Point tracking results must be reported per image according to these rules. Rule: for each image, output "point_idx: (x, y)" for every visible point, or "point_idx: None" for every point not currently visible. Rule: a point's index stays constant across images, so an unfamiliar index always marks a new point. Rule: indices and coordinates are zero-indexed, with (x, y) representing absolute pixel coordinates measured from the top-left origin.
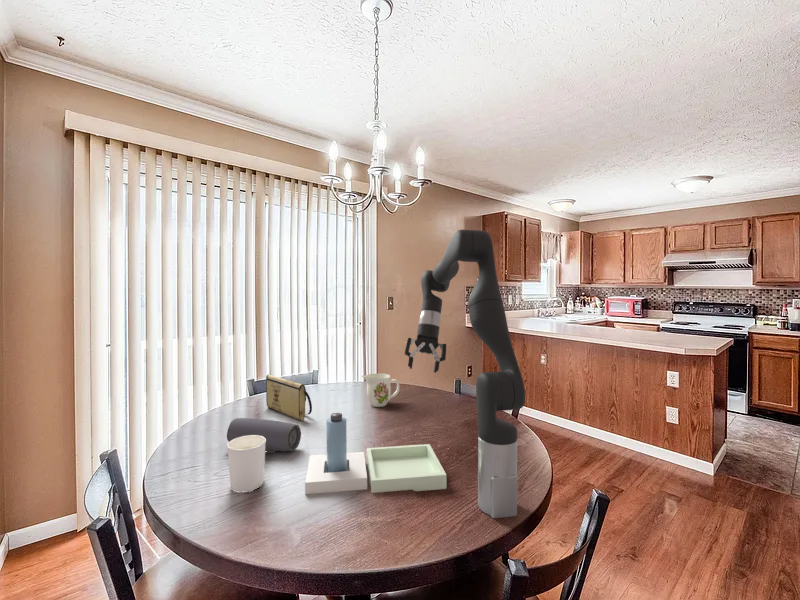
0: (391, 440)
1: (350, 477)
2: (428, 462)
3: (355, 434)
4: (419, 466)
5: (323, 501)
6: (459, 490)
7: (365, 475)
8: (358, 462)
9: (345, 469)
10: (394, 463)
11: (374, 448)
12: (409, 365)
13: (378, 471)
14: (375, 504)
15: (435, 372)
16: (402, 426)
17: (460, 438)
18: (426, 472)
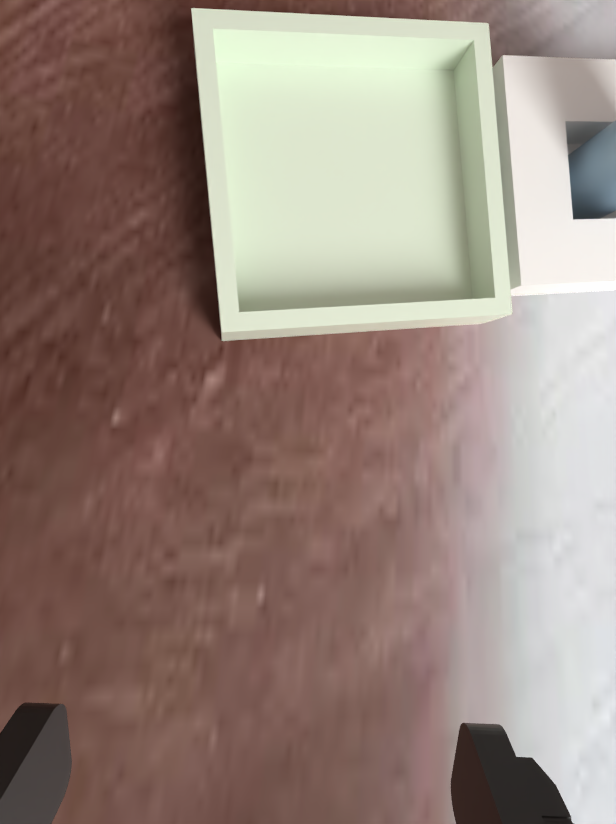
0: (380, 519)
1: (559, 69)
2: (239, 248)
3: (537, 591)
4: (282, 217)
5: (600, 54)
6: (145, 32)
7: (509, 73)
8: (537, 187)
9: (576, 154)
10: (382, 256)
11: (480, 307)
12: (527, 773)
13: (444, 198)
14: (449, 4)
15: (42, 706)
16: (318, 700)
17: (23, 536)
18: (259, 161)
